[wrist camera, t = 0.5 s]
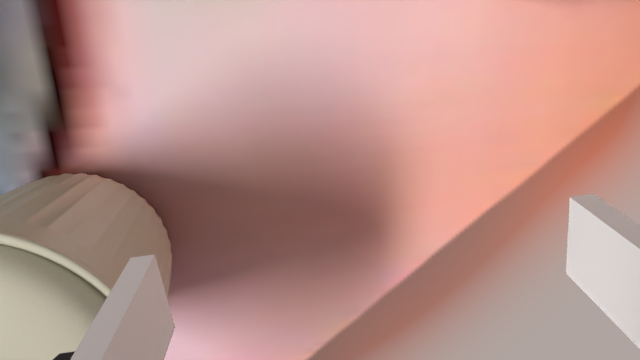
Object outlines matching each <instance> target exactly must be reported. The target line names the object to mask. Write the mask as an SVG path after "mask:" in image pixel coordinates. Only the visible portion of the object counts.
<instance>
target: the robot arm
mask: <svg viewBox="0 0 640 360" xmlns="http://www.w3.org/2000/svg"><path fill="white" fill-rule="evenodd" d="M566 273H567V274H568V276H569V277H571V279H572V280H573V281H574V282H575V283H576V284H577V285H578V286H579V287H580V288H581V289H582V290H583V291H584V292H585V293H586V294H587V295H588V296H589V297H590V298H591V299H592V300H593V301H594V302H595V303H596V304H597V305H598V306H599V307H600V308H601V309H602V310H603V312H605V314H606V315H607V316H608V317H609V318H610V319H611V320H612V321H613V322H614V323H615V324H616V325H617V326H618V327H619V328H620V329H621V330H622V331H623V332H624V333H625V334H626V335H627V336H628V337H629V338H630V339H631V340H632V341H633V343H635V344H636V345H637V347H638V348H639V349H640V225H639V224H638V223H636V222H635V221H633V220H632V219H631V218H629V217H628V216H626V215H625V214H623V213H622V212H620V211H619V210H617V209H615V208H614V207H613V206H611V205H610V204H608V203H607V202H605V201H604V200H602V199H601V198H599V197H598V196H596V195H595V194H590V195H583V196H576V197H570V206H569V226H568V244H567V264H566ZM174 328H175V326H174V323H173V319H172V315H171V312H170V308H169V304H168V301H167V297H166V293H165V290H164V286H163V282H162V279H161V275H160V271H159V268H158V264H157V260H156V257H155V255H147V256H140V257H133V258H130V260H129V261H128V263H127V265H126V266H125V268H124V270H123V271H122V273H121V275H120V276H119V278H118V280H117V282H116V283H115V285H114V287H113V288H112V290H111V292H110V293H109V295H108V297H107V298H106V300H105V302H104V303H103V305H102V307H101V309H100V310H99V312H98V314H97V315H96V317H95V319H94V320H93V322H92V324H91V325H90V327H89V329H88V331H87V332H86V334H85V336H84V337H83V339H82V341H81V342H80V344H79V346H78V347H77V349H76V351H74V352H67V353H60V354H58V355H57V356H56V357H55V358H54V359H53V360H164V358H165V355H166V352H167V349H168V346H169V343H170V340H171V337H172V334H173V331H174Z"/></svg>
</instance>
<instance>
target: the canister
mask: <svg viewBox="0 0 640 360" xmlns="http://www.w3.org/2000/svg"><path fill="white" fill-rule="evenodd" d="M147 255H155V257H156V260H157V264H158V268H159V271H160V275H161V279H162V282H163V286H164V290H165V293H166V297H167V300H168V294H169V287H170V280H171V272H172V270H171V267H172V253H171V243H170V240H169V239H168V234H167V230H166V228H165V227H164V226H163V224H162V219H161V218H160V217H159V216H158V215H157V214H156V212H155V210H154V208H153V207H151V206H150V205H149V204H148V203H147V202H146V200H145V199H144V198H142V197H140V196H139V195H138V194H137V193H136V192H135V191H134V190H131V189H129V188H127V187H126V186H125V185H124V184H120V183H117V182H115V181H113V180H112V179H110V178H102V177H100V176H98V175H87V174H84V173H78V174H70V173H65V174H61V175H59V176H48V177H45V178H43V179H40V180H37V181H33V182H31V183H28V184H26V185H23V186H21V187H19V188H17V189H14V190H12V191H10V192H8V193H5V194H3V195H1V196H0V360H53V359H54V358H55V357H56V356H57V355H58V354H60V353H67V352H74V351H76V349H77V347H78V346H79V344H80V342H81V341H82V339H83V337H84V336H85V334H86V332H87V331H88V329H89V327H90V325H91V324H92V322H93V320H94V319H95V317H96V315H97V314H98V312H99V310H100V309H101V307H102V305H103V303H104V302H105V300H106V298H107V297H108V295H109V293H110V292H111V290H112V288H113V287H114V285H115V283H116V282H117V280H118V278H119V276H120V275H121V273H122V271H123V270H124V268H125V266H126V265H127V263H128V261H129V260H130V258H133V257H140V256H147Z"/></svg>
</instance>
